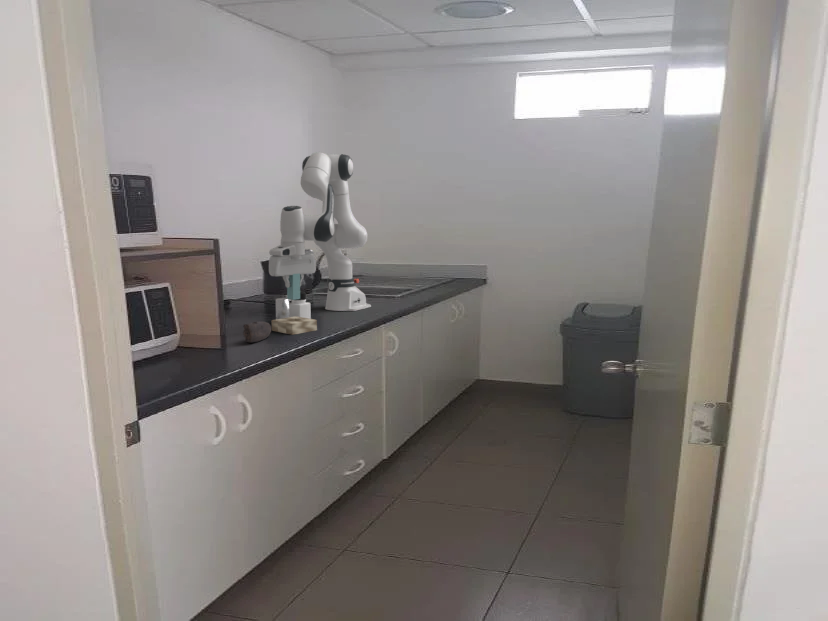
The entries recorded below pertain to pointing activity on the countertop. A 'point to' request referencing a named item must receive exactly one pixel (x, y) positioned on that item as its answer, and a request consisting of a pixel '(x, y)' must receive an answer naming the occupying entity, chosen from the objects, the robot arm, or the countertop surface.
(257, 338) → the perforated stone tool
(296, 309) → the medicine bottle
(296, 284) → the square bit
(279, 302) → the cylinder
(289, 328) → the bore block
